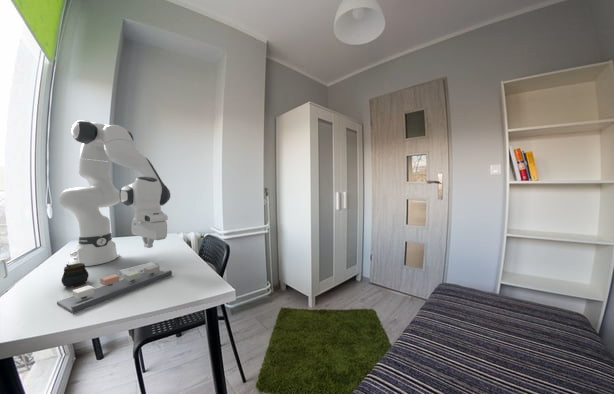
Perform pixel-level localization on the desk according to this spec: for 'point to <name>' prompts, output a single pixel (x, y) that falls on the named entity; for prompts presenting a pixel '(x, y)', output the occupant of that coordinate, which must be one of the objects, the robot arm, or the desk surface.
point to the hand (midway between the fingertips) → (148, 247)
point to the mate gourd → (74, 275)
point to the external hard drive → (136, 268)
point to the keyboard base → (111, 291)
